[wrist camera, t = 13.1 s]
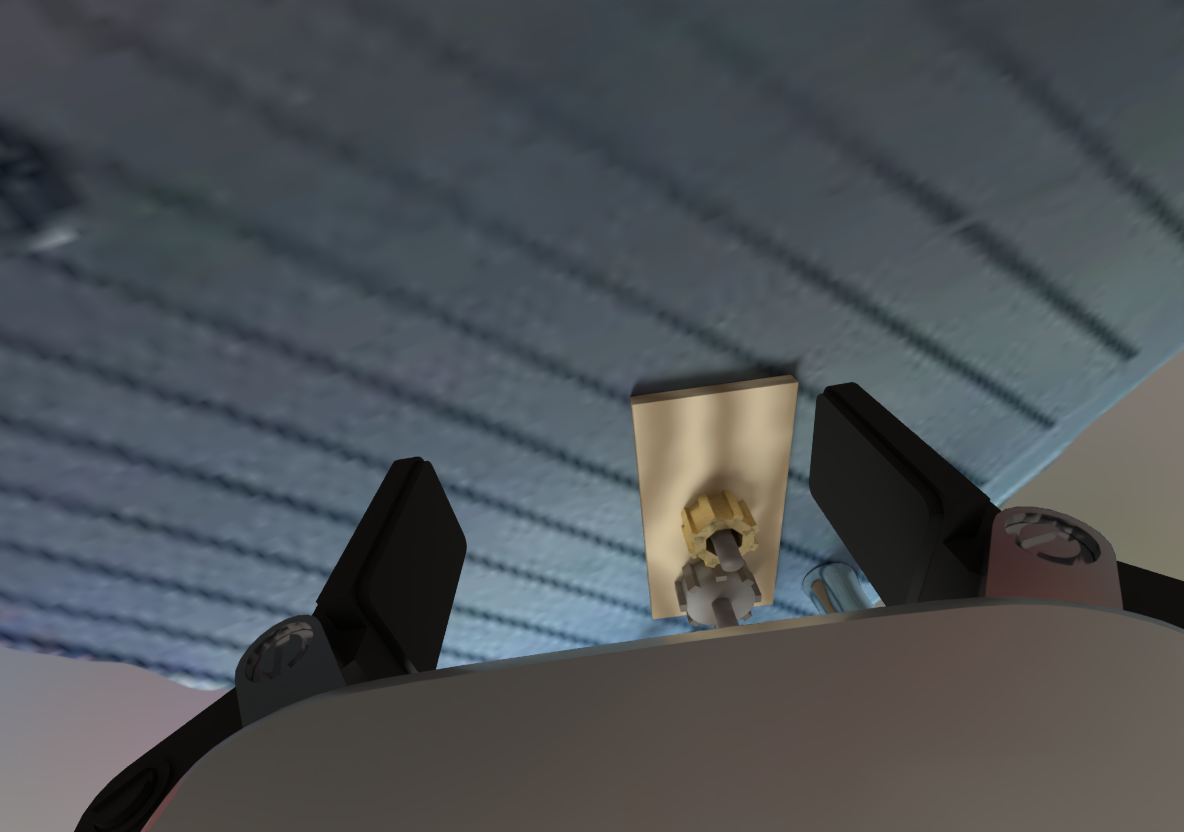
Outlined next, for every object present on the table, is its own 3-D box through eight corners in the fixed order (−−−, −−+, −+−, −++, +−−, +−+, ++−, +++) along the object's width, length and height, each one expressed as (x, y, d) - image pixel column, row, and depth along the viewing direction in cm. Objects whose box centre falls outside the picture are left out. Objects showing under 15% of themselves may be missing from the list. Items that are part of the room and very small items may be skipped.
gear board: (790, 374, 39) (834, 419, 33) (767, 593, 54) (795, 653, 48) (630, 396, 40) (642, 445, 33) (650, 608, 55) (662, 669, 48)
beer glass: (786, 592, 54) (855, 731, 41) (822, 553, 51) (908, 690, 38) (833, 604, 56) (913, 741, 43) (870, 567, 53) (969, 703, 40)
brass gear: (748, 486, 44) (761, 511, 41) (745, 535, 47) (757, 562, 44) (679, 495, 44) (688, 521, 41) (681, 543, 47) (689, 570, 44)
